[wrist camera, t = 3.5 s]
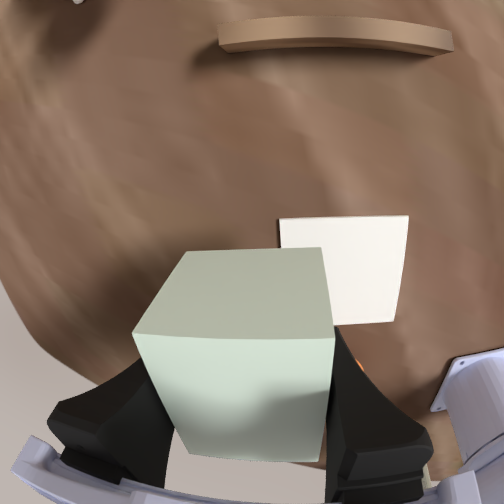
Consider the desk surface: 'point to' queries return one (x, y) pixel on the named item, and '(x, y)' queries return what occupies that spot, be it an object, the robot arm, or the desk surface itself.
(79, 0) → the white crawling baby figure
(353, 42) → the stopper
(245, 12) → the desk surface
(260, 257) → the pale green block
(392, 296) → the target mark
